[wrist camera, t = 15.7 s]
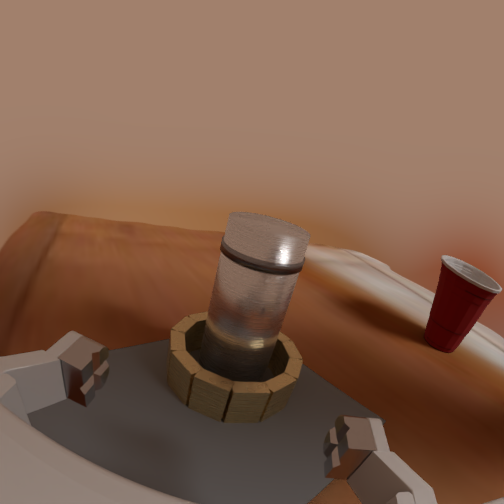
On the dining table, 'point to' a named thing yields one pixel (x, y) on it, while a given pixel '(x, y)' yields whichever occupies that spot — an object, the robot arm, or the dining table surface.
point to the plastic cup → (458, 303)
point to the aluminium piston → (251, 294)
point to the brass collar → (224, 390)
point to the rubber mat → (199, 435)
